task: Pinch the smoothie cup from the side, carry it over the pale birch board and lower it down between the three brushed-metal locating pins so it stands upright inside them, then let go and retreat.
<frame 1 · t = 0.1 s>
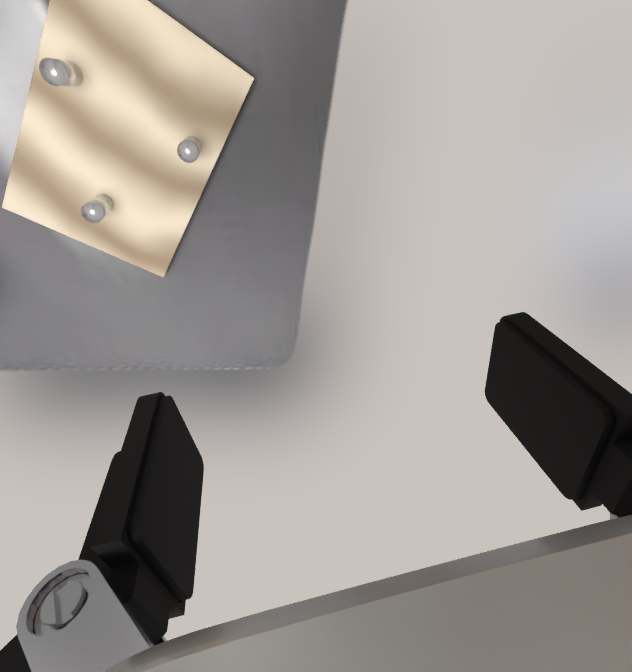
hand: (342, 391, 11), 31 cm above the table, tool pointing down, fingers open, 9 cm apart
pin board: (128, 142, 33), on the table
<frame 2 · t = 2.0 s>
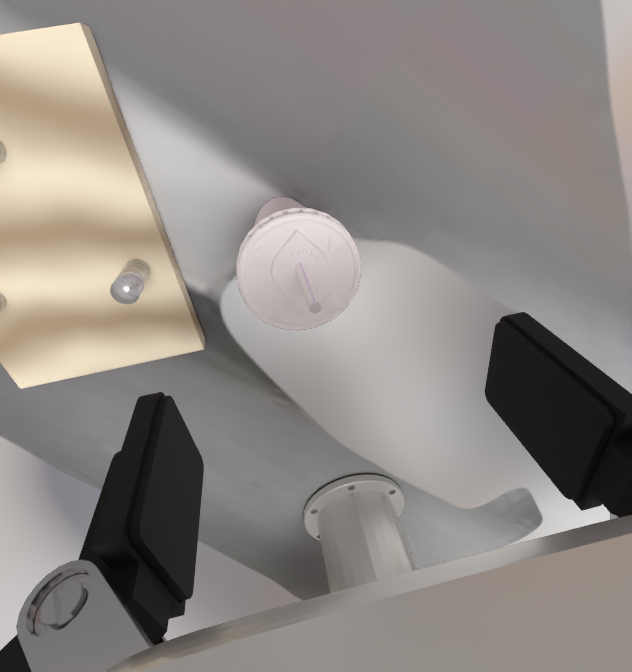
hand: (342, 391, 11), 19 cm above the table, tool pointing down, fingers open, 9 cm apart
smoothie: (282, 223, 27), on the table
pin board: (53, 237, 25), on the table
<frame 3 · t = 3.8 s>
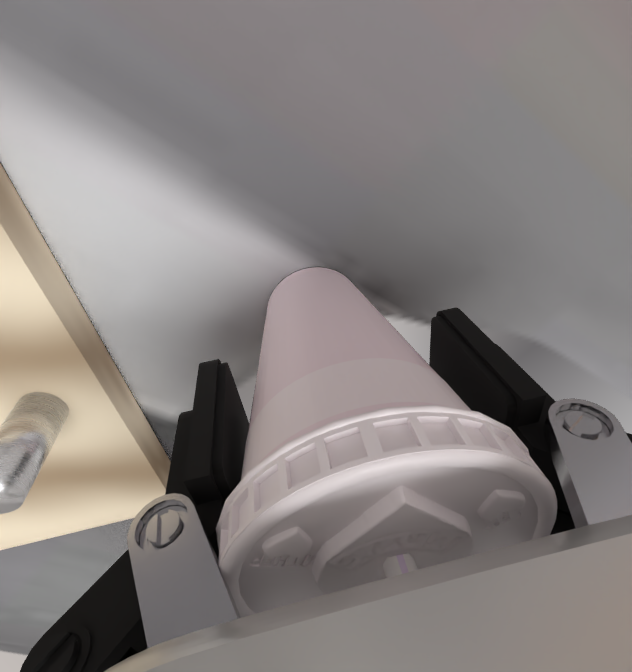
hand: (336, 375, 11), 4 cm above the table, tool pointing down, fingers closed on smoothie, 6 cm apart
smoothie: (313, 308, 15), on the table, touching gripper
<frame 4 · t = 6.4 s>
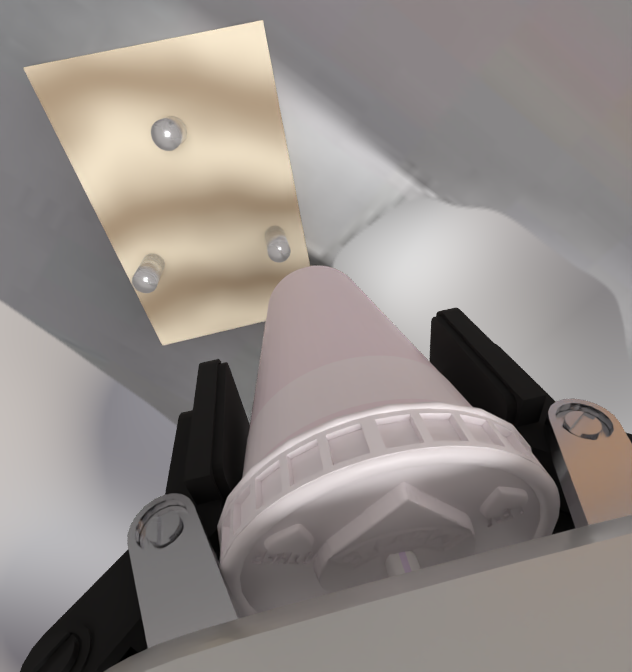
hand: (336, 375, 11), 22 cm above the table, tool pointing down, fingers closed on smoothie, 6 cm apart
smoothie: (314, 307, 15), point 17 cm above the table, touching gripper
pin board: (204, 208, 29), on the table
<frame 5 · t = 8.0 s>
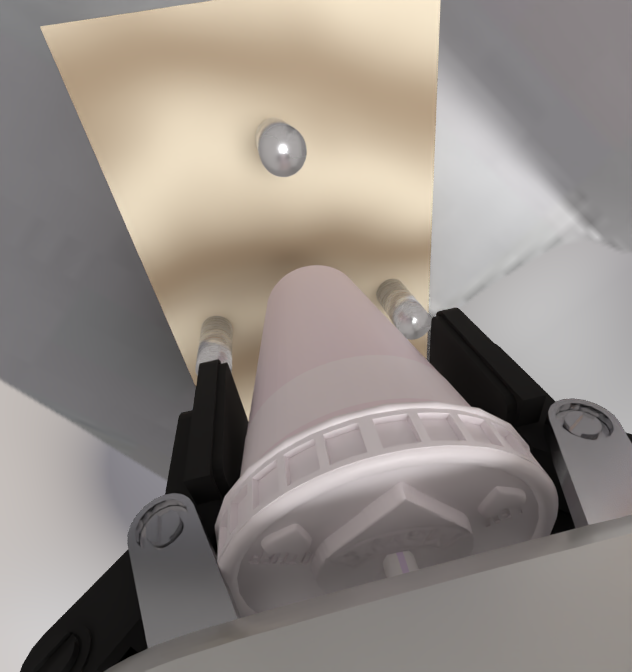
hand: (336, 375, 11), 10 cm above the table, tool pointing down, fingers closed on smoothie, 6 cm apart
smoothie: (313, 306, 15), point 6 cm above the table, touching gripper
pin board: (292, 252, 20), on the table
when the fingers open (7 cm above the table, at t = 9.1 s): smoothie drops 1 cm, resting on pin board.
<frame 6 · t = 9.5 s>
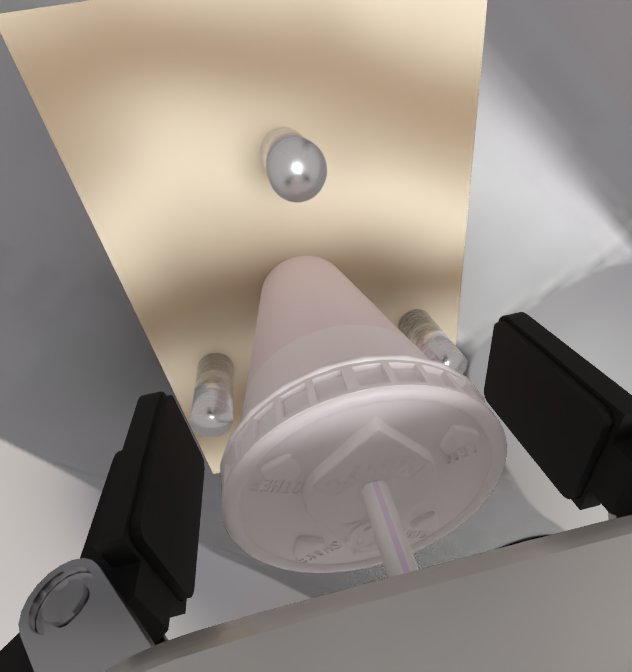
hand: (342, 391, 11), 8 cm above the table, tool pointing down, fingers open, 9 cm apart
smoothie: (303, 294, 16), point 1 cm above the table, touching pin board
pin board: (302, 279, 17), on the table
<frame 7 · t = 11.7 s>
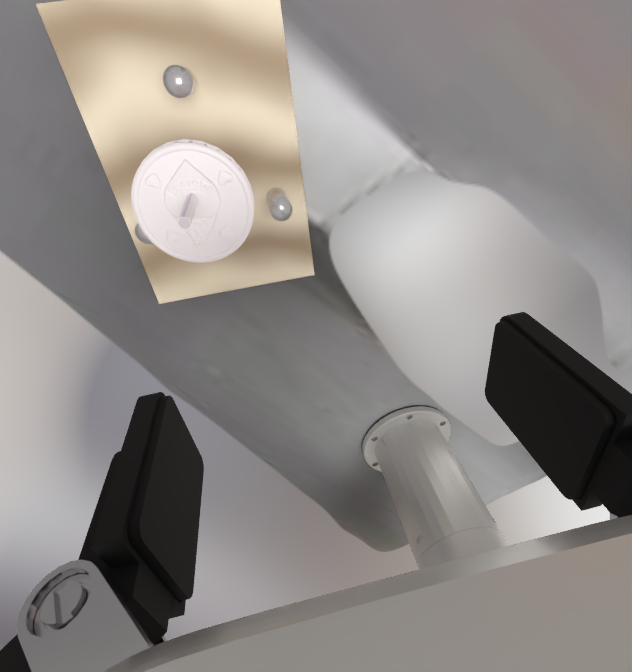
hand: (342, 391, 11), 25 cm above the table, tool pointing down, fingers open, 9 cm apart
smoothie: (205, 171, 28), point 1 cm above the table, touching pin board
pin board: (208, 166, 29), on the table
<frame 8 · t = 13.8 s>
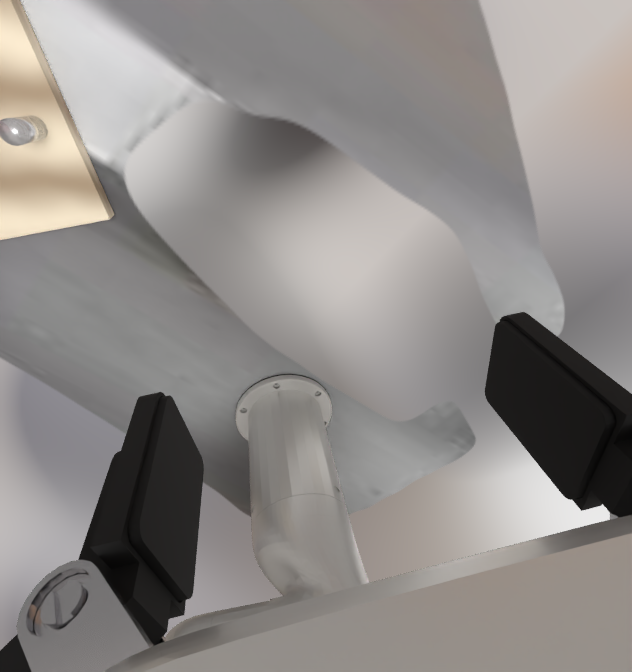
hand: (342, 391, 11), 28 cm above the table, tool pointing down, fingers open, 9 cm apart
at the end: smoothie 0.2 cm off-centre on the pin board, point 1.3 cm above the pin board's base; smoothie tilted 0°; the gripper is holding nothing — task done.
